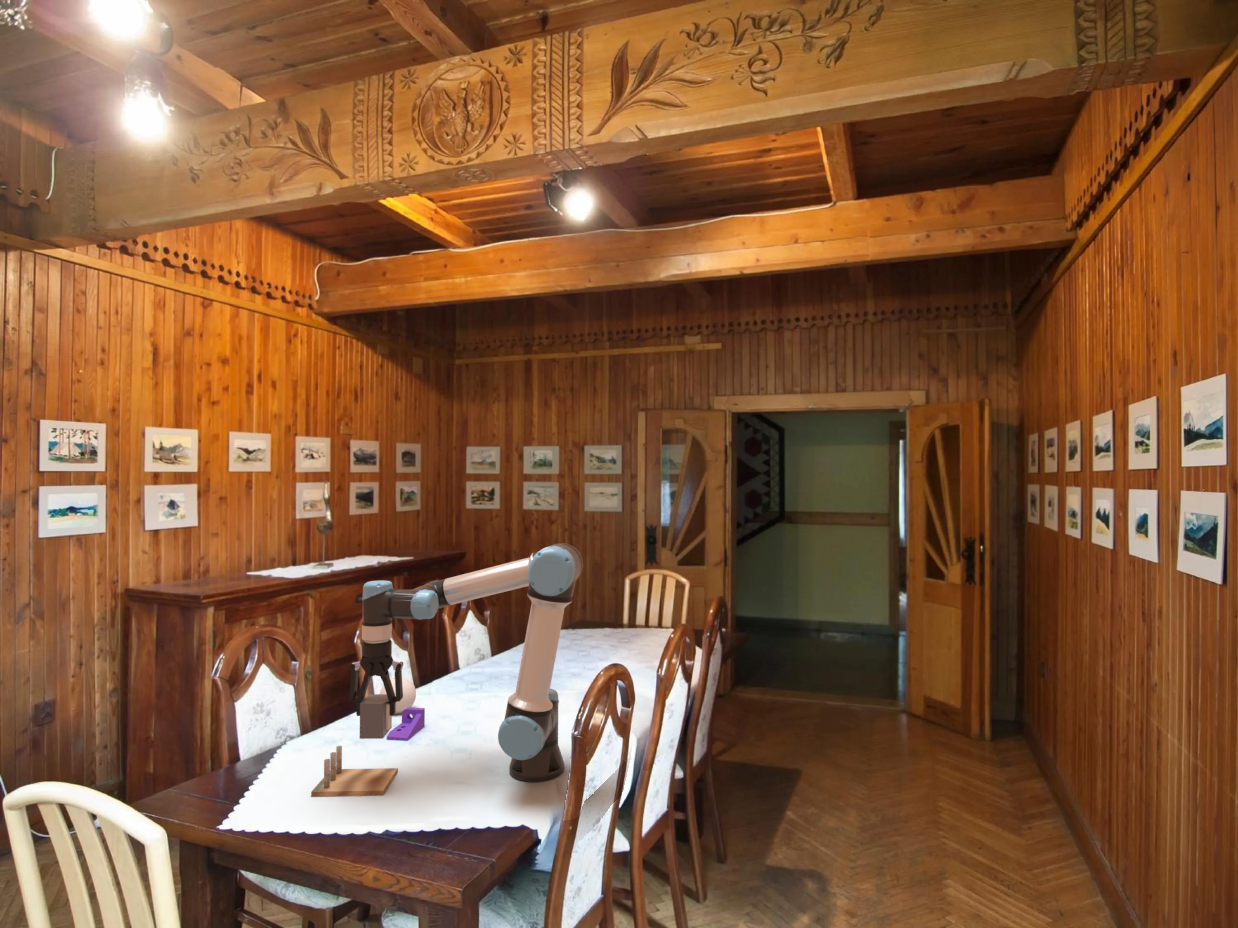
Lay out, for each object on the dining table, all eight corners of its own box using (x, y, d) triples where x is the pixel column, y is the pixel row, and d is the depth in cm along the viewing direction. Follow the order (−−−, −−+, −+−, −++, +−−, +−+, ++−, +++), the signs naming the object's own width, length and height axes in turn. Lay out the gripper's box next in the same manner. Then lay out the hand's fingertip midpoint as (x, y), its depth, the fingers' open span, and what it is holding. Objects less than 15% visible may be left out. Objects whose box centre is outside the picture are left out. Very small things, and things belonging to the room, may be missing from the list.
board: (397, 772, 197) (397, 742, 197) (383, 795, 183) (383, 762, 183) (330, 773, 196) (331, 743, 196) (311, 796, 182) (311, 763, 182)
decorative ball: (415, 706, 253) (415, 672, 254) (416, 716, 242) (416, 681, 242) (379, 709, 250) (379, 674, 250) (379, 720, 238) (379, 684, 239)
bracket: (404, 728, 232) (404, 706, 232) (424, 729, 231) (424, 707, 231) (386, 741, 220) (386, 719, 221) (407, 743, 219) (407, 720, 219)
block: (391, 727, 194) (391, 694, 194) (383, 738, 186) (383, 703, 186) (368, 727, 194) (369, 694, 194) (359, 738, 186) (359, 703, 186)
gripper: (416, 636, 194) (415, 722, 194) (345, 636, 193) (344, 723, 193) (409, 642, 187) (408, 732, 186) (335, 643, 186) (334, 732, 186)
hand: (375, 727), depth 190 cm, fingers closed on block, 6 cm apart
